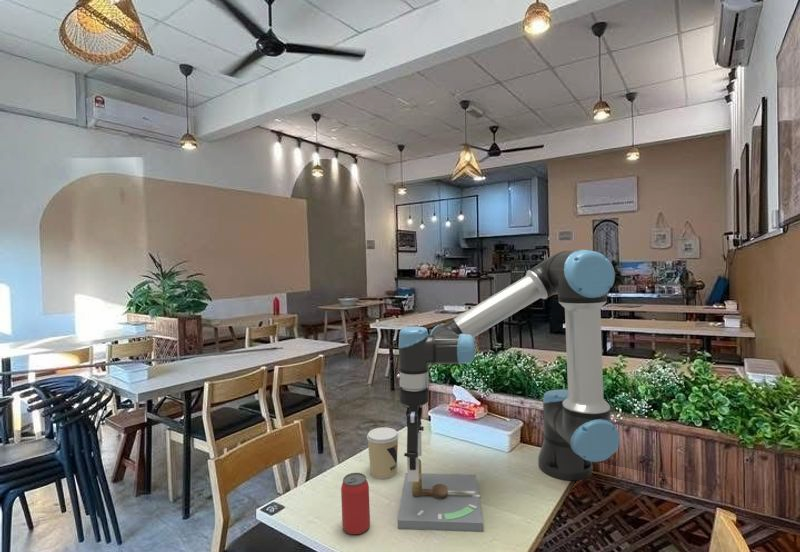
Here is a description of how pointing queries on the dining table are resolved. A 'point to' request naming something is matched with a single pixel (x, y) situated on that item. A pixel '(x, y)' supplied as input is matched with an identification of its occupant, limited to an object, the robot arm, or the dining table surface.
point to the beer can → (355, 503)
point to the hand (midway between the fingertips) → (415, 467)
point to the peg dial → (435, 489)
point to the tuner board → (441, 505)
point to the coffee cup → (383, 452)
